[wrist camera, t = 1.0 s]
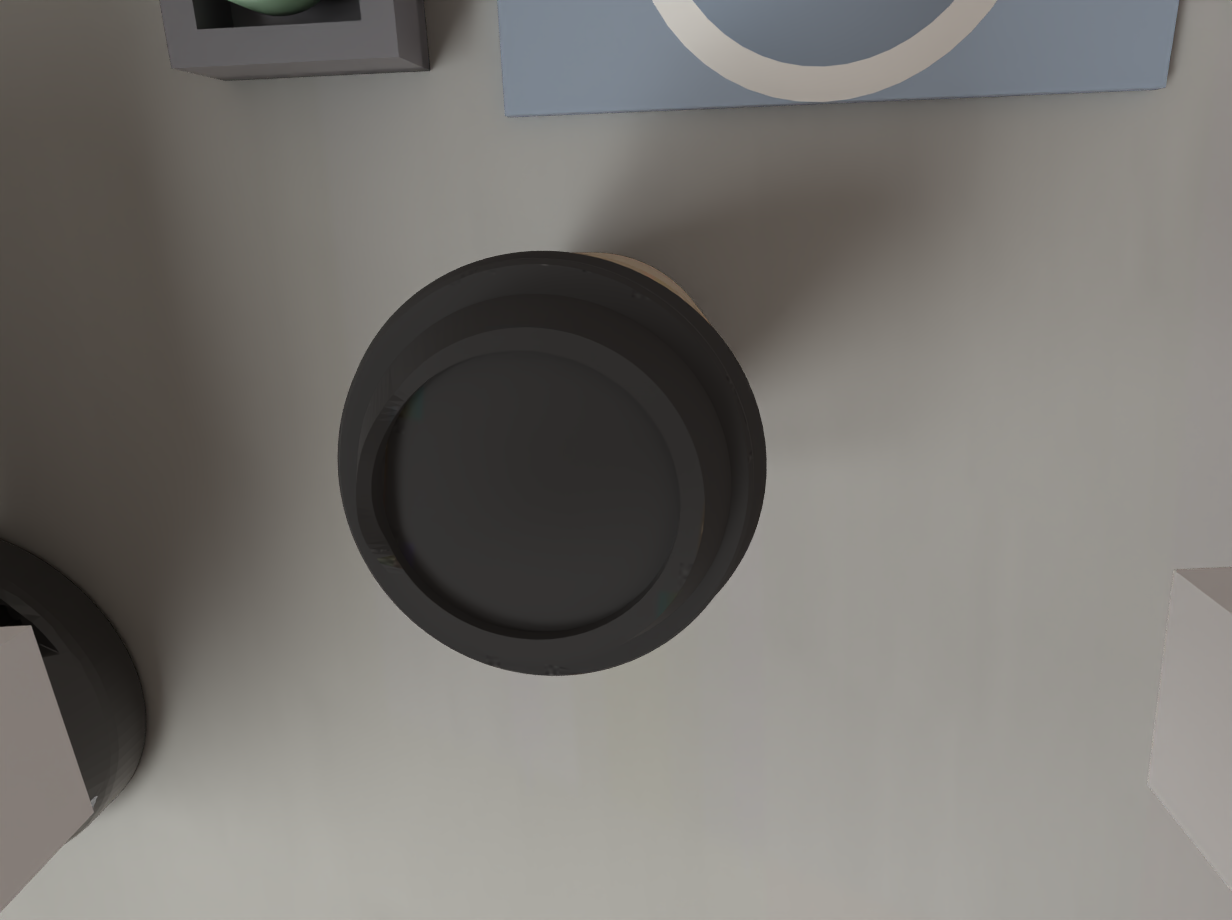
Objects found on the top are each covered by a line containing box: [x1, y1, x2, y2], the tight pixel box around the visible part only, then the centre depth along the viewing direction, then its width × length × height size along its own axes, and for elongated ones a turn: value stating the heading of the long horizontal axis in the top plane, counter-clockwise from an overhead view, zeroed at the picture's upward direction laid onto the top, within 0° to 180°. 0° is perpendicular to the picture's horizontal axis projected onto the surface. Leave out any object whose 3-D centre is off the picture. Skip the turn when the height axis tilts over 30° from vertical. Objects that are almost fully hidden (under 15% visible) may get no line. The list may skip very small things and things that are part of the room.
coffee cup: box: [338, 251, 767, 676], centre depth 22 cm, size 9×9×15 cm
